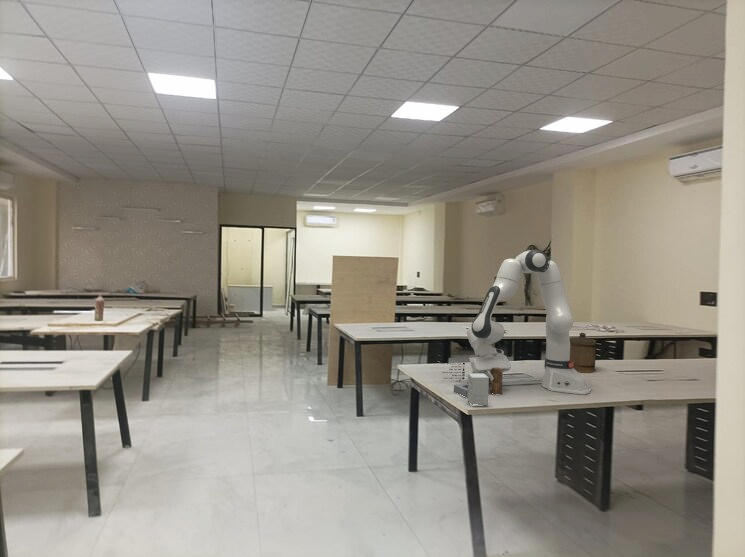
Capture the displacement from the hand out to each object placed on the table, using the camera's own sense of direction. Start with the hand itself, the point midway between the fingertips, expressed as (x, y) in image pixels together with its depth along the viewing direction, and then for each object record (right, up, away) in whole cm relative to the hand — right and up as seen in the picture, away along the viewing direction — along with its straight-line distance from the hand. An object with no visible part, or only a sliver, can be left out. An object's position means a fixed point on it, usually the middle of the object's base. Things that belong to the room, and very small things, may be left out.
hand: (497, 379), depth 223 cm
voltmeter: (-10, -6, +21) cm, 24 cm away
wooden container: (+64, -7, +57) cm, 85 cm away
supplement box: (-13, -7, -16) cm, 22 cm away
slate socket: (-14, -7, -1) cm, 15 cm away
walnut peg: (0, -7, +1) cm, 7 cm away
